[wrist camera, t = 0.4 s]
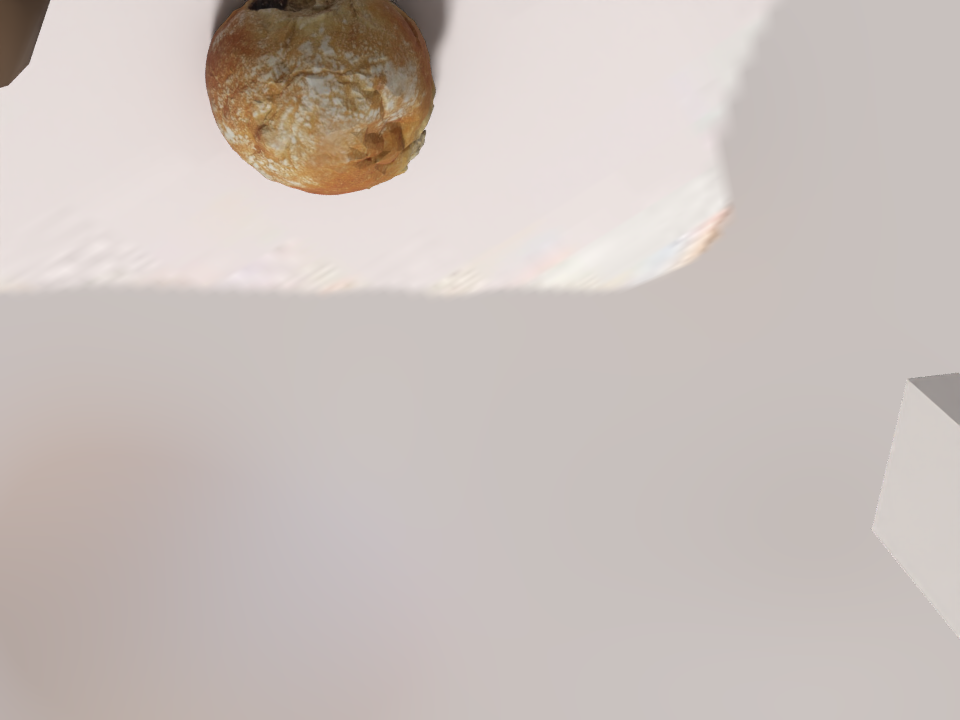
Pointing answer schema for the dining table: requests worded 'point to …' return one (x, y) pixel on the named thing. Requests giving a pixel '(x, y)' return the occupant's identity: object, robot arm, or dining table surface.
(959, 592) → the robot arm
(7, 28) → the beer bottle
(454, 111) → the dining table surface
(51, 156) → the dining table surface
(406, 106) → the bread roll
